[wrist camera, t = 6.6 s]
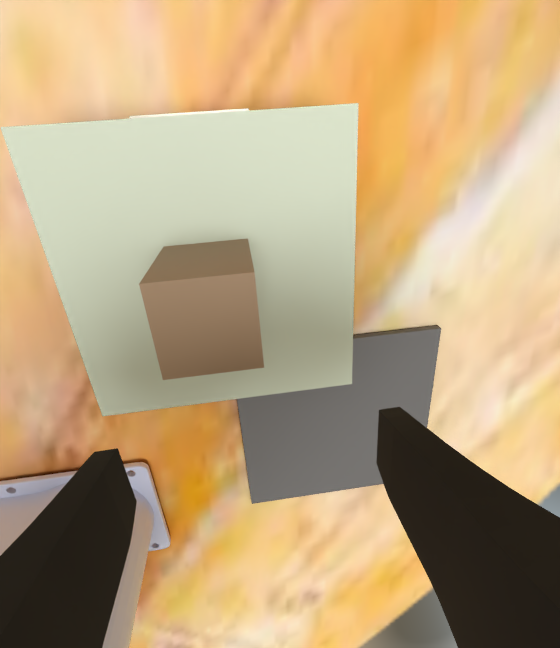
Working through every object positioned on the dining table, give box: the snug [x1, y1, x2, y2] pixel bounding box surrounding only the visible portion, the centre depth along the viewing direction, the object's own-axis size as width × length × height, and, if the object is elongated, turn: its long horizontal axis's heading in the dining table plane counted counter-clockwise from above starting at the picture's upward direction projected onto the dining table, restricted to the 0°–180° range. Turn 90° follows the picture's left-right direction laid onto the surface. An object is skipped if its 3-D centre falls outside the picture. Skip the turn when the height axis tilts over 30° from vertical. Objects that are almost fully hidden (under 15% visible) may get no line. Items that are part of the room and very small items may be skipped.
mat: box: [237, 325, 441, 504], centre depth 23 cm, size 12×12×1 cm
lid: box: [0, 103, 358, 416], centre depth 13 cm, size 11×11×5 cm
